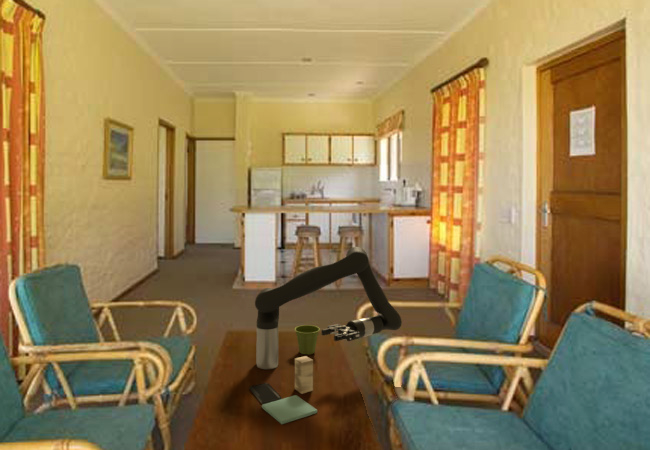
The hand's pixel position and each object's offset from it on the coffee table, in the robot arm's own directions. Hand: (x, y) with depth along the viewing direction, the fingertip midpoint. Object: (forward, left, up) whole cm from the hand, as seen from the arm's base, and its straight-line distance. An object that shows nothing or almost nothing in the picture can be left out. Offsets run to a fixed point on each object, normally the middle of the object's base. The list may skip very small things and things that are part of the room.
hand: (328, 335), depth 185 cm
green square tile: (+11, -24, -19) cm, 33 cm away
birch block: (0, -11, -19) cm, 22 cm away
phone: (-5, -25, -20) cm, 32 cm away
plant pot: (-33, +12, -19) cm, 40 cm away
